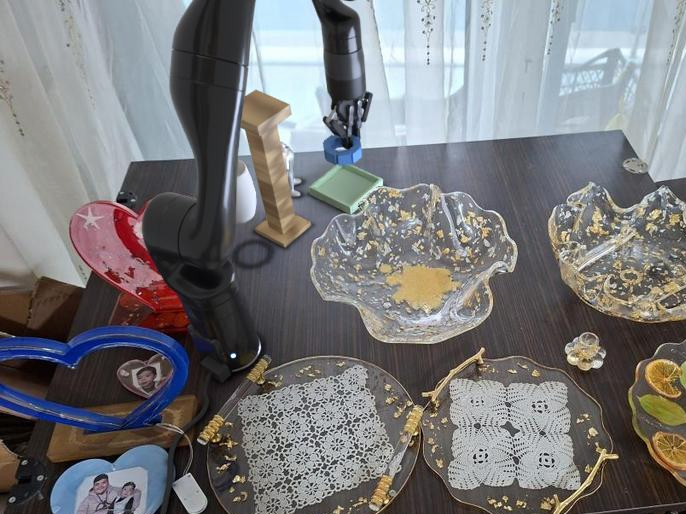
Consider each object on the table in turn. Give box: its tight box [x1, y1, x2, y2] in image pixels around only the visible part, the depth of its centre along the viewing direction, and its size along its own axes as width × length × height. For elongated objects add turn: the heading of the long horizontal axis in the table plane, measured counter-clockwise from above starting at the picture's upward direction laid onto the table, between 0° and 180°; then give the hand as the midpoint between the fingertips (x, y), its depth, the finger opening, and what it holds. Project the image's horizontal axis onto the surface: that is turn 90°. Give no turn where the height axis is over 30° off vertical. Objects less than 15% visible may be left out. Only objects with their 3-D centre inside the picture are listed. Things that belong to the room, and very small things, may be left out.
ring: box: [322, 134, 363, 166], centre depth 125 cm, size 8×8×2 cm
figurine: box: [280, 141, 302, 198], centre depth 129 cm, size 7×4×12 cm, turn 4°
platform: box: [241, 89, 312, 249], centre depth 115 cm, size 8×8×28 cm
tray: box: [308, 164, 384, 215], centre depth 133 cm, size 11×11×2 cm
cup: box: [236, 158, 257, 224], centre depth 113 cm, size 7×7×21 cm
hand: (351, 146), depth 128 cm, fingers closed on ring, 1 cm apart
